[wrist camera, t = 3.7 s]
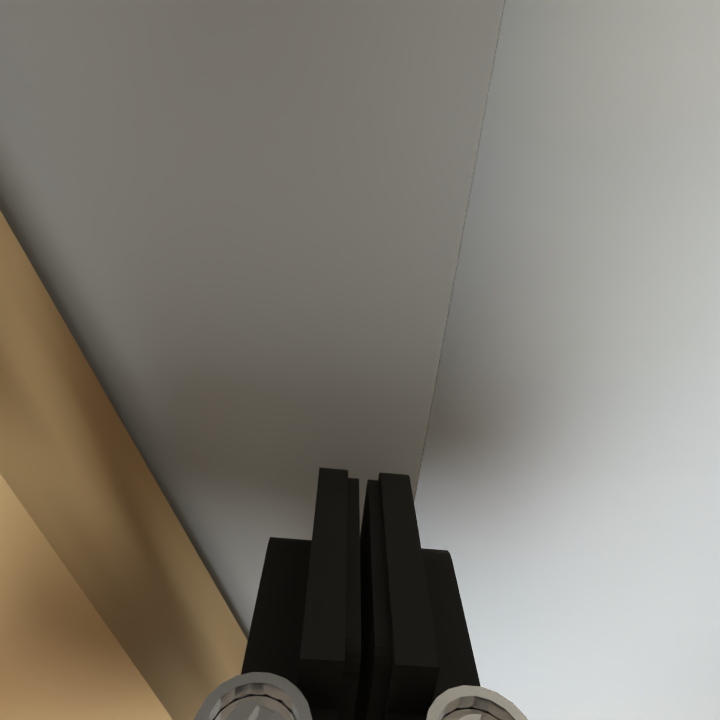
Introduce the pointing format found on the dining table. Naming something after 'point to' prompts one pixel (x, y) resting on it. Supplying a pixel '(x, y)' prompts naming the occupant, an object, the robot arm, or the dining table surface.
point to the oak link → (90, 542)
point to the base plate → (249, 234)
